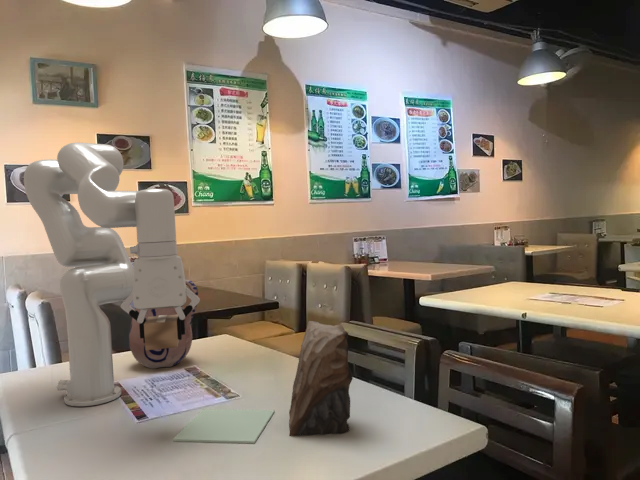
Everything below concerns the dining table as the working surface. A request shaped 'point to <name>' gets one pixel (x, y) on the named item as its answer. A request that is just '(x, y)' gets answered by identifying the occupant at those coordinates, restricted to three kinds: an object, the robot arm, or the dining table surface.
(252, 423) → the mat
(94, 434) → the dining table surface
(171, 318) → the cardboard box
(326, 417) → the brown rock
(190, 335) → the ceramic pitcher
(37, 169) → the robot arm
